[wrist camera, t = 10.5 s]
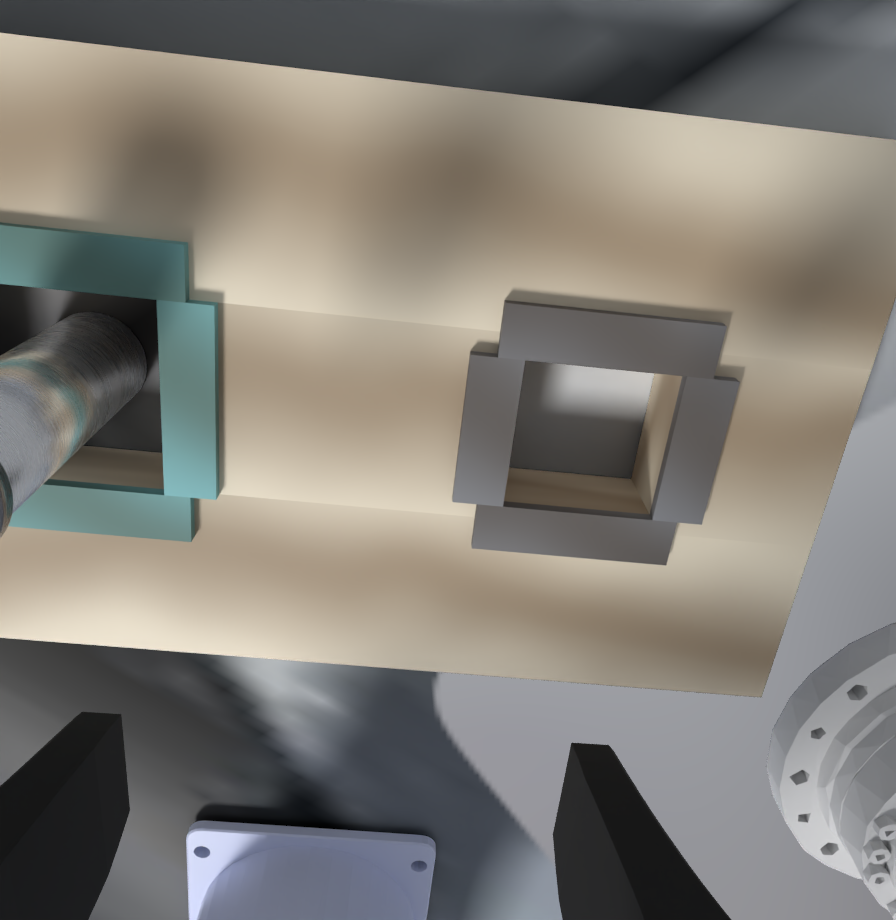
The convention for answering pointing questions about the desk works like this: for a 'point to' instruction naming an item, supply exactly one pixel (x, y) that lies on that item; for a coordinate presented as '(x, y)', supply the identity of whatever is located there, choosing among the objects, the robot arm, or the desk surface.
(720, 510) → the dock board
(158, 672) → the desk surface
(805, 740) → the mechanical component
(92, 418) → the steel pin
